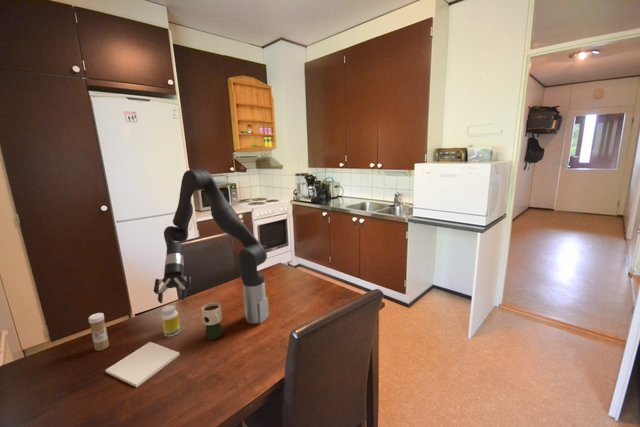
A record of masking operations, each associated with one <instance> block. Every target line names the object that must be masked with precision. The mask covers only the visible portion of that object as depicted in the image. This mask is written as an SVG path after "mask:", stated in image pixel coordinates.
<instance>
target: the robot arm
mask: <svg viewBox="0 0 640 427" xmlns="http://www.w3.org/2000/svg"><path fill="white" fill-rule="evenodd" d="M196 191H203V193H205V195H206V196H207V198H208V199H209V204H210V213H211V217H212V219H213V220H214V222H215V223H216V225H217V226H218V228H219V229H221V230H222V232H224V233H226V234H227V235H229V236H231V237H232V238H234V239H236V240H238V242H240V243H241V245H242V246H243V247H244V248H241V250H239V252H238V255H237V262H238V263H237V264H238V270H239V276H240V278H241V281H242V291H243V293H242V294H243V304H244V314H245V322H247V323H248V324H251V325H252V324H254V325H255V324H262V323H264V322H265V321H266V320H267V319H269V317H270V314H269V313H270V311H269V299H268V297H267V296H266V283H265V282H266V281H265V274H264V273H263V272H260V271H258V267H259V266H260V265H262V264H264V263H265V262H266V261H267V260H268V259H267V258H268V254H267V250H266V248H265V247H264V246H263V245H262V243H261V242H260V241H259V240H258V239H257V238H256V237H255V236H254V234H253V233H252V232H251V231H250V230H249V228H248V227H247V226H246V225H245V224H244V222H243V220H242V219H241V218H240V217H239V215H238V214H237V212H236V211H235V209H234V207H232V206H231V204H230V203H229V202H228V200H227V199H226V197H225V196H224V194H223V193H222V192H221V190H220V188H219V186H218V184H217V183H216V181H215V179H214V177H213V176H212V174H211V173H210V172H209V171H208V170H206V169H203V168H202V169H201V168H197V169H196V168H195V169H188V170H186V171H184V173H183V176H182V178H181V183H180V191H179V198H178V203H177V207H176V210H175V213H174V215H173V219H172V224H173V225H174V226H173V225H169V226H166V227H165V228H164V231H163V238H164V242H165V244H166V245H165V247H166V256H165V261H164V272H163V278H162V279H159V278H155V280H154V286H153V292H154V293H155V294H156V295H157V301H158V303H159V304H163V301H164V300H163V299H164V293H165V292H166V291H167V290H168V289H173V288H174V289H175V288H178V287H179V288H180V289H181V296H180V297H181V298H180V299H181V301H184V300H185V299H187V298H186V297H187V291H189V290H191V289H192V286H191V285H192V282H191V281H192V280H191V279H192V278H191V276H190V274H188V275H186V276H185V275H184V265H185V262H184V249H185V248H184V245H183V244H181V243H184V242H187V240H188V238H189V225H190V221H191V219H192V216H193V214H194V207H193V204H192V197H193V195H194V193H195V192H196ZM184 281H185V282H186V286H185V285H184V284H183V282H184ZM162 283H163V284H162ZM161 284H162V285H161ZM160 286H161V287H160Z"/></svg>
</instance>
